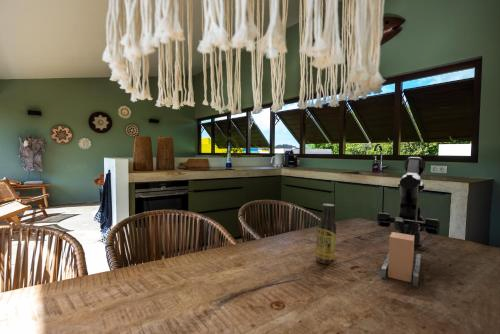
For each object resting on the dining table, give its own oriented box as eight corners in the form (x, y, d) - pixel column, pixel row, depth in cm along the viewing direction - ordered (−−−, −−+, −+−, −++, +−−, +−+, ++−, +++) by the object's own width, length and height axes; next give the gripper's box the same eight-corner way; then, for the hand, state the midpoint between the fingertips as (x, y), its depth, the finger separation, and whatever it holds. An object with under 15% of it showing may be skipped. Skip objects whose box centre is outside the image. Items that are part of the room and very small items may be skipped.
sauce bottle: (312, 261, 95) (313, 204, 94) (321, 256, 100) (322, 201, 99) (330, 266, 91) (331, 207, 90) (338, 261, 95) (340, 204, 94)
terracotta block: (390, 269, 86) (392, 232, 86) (412, 274, 83) (414, 235, 82) (387, 276, 81) (389, 236, 81) (411, 282, 78) (413, 240, 77)
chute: (389, 259, 97) (390, 248, 97) (420, 266, 92) (420, 254, 92) (380, 281, 81) (381, 268, 81) (417, 290, 76) (418, 276, 76)
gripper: (438, 222, 100) (437, 262, 92) (382, 215, 111) (376, 250, 102) (440, 204, 93) (439, 246, 85) (379, 198, 103) (373, 235, 95)
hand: (404, 244), depth 92 cm, fingers closed
